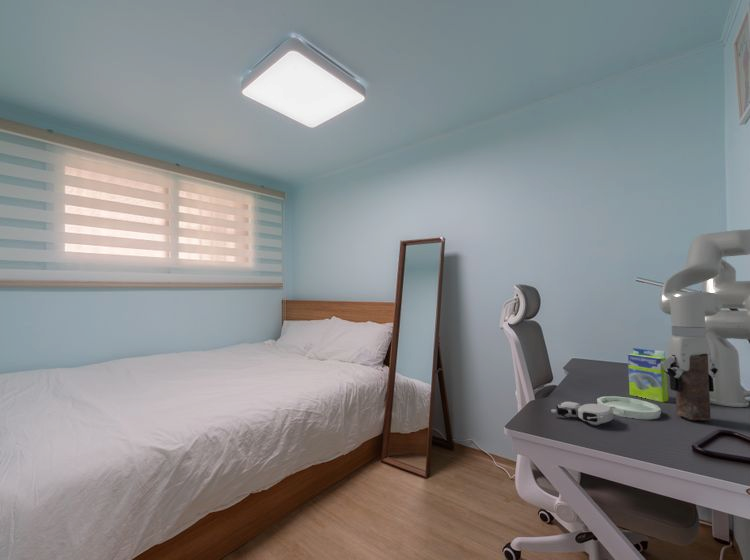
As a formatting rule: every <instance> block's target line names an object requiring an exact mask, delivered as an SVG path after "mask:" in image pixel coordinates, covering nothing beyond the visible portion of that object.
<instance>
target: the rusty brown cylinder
mask: <svg viewBox="0 0 750 560" xmlns="http://www.w3.org/2000/svg"><path fill="white" fill-rule="evenodd" d="M678 368H679V367H678ZM679 378H681V379H682V392H678V391H675V393H676V401H675V402H676V403H675V404H676V405H675V407H676V415H678V416H680V417H682V418H685V419H686V420H689V421H695V422H696V421H709V420H711V403H710V394H709V374H708V354H702V355H699V356H691V357H690V365H689V371H687V372H684V371H683V373H682V374H681V375H680V377H679Z"/></svg>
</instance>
